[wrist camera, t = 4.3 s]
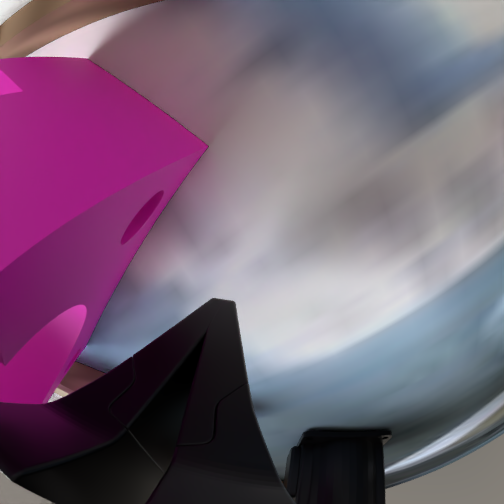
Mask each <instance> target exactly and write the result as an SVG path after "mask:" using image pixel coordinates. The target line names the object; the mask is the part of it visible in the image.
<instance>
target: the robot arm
mask: <svg viewBox="0 0 504 504" xmlns="http://www.w3.org/2000/svg"><path fill="white" fill-rule="evenodd" d="M391 437H392V432H391V431H388V430H387V431H369V432H320V431H307V432H304V433H303V434H302V436H301V438H300V440H299V442H298V444H297V446H294V447H293V448H291V451H290V453H289V455H288V457H287V463H286V471H285V478H284V485H283V483H282V481H281V479H280V477H279V475H278V473H277V471H276V468H275V466H274V464H273V461H272V458H271V456H270V453H269V451H268V448H267V446H266V443H265V440H264V438H263V435H262V433H261V430H260V427H259V424H258V421H257V418H256V415H255V412H254V407H253V403H252V399H251V393H250V388H249V384H248V377H247V371H246V365H245V359H244V353H243V347H242V341H241V335H240V329H239V322H238V316H237V310H236V304H235V302H234V301H231V300H224V299H217V298H212V299H210V300H209V301H208V302H206V303H205V304H203V305H202V306H201V307H199V308H198V309H197V310H195V311H194V312H193V313H191V314H190V315H188V316H187V317H186V318H184V319H183V320H182V321H180V322H179V323H177V324H176V325H175V326H173V327H172V328H170V329H169V330H168V331H166V332H165V333H164V334H162V335H161V336H159V337H158V338H157V339H155V340H154V341H152V342H151V343H150V344H148V345H147V346H145V347H144V348H143V349H141V350H140V351H138V352H137V353H136V354H134V355H133V357H130V358H128V359H127V360H126V361H124V362H123V363H121V364H120V365H118V366H117V367H115V368H114V369H112V370H111V371H109V372H108V373H106V374H104V375H103V376H101V377H99V378H97V379H96V380H94V381H92V382H90V383H89V384H87V385H85V386H83V387H81V388H79V389H77V390H76V391H74V392H72V393H70V394H68V395H66V396H64V397H62V398H60V399H58V400H56V401H53V402H49V403H44V404H24V403H7V402H0V504H385V470H384V453H383V445H384V444H385V443H386V442H387V441H388V440H389V439H390V438H391Z"/></svg>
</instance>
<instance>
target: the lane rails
mask: <svg viewBox="0 0 504 504" xmlns="http://www.w3.org/2000/svg"><path fill="white" fill-rule="evenodd" d="M160 1H164V0H32V1H31V2H29V3H28V4H27V5H25V6H24V7H23V8H21V9H20V10H19V11H18V12H16V13H15V14H14V15H12V16H11V17H10V18H9V19H8V20H6V21H5V22H4V23H3V24H2V25H1V26H0V59H5V58H20V57H26V56H27V55H29V54H30V53H32V52H34V51H36V50H37V49H39V48H41V47H43V46H44V45H46V44H48V43H50V42H52V41H54V40H56V39H58V38H60V37H62V36H64V35H66V34H68V33H70V32H72V31H74V30H77V29H79V28H81V27H83V26H86V25H88V24H91V23H93V22H96V21H98V20H101V19H103V18H106V17H109V16H112V15H115V14H118V13H121V12H124V11H127V10H130V9H133V8H137V7H140V6H144V5H148V4H151V3H155V2H160ZM104 374H106V373H103V372H101V371H98V370H95V369H93V368H90V367H88V366H86V365H83V364H81V363H78V362H76V361H75V362H74V364H73V365H72V366H71V368H70V369H69V371H68V372H67V374H66V375H65V376H64V378H63V379H62V381H61V382H60V384H59V385H58V387H57V388H56V390H55V391H54V392H55V393H57V394H58V395H60V396H62V397H64V396H66V395H68V394H70V393H72V392H74V391H76V390H77V389H79V388H81V387H83V386H85V385H87V384H89V383H90V382H92V381H94V380H96V379H97V378H99V377H101V376H103V375H104Z"/></svg>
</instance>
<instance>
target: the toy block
mask: <svg viewBox="0 0 504 504" xmlns="http://www.w3.org/2000/svg"><path fill="white" fill-rule="evenodd" d="M208 147H209V146H208V145H206V144H205V143H204V142H203V141H201V140H200V139H199V138H197V137H196V136H195V135H194V134H192V133H191V132H190V131H188V130H187V129H186V128H184V127H183V126H182V125H181V124H179V123H178V122H177V121H175V120H174V119H173V118H171V117H170V116H169V115H167V114H166V113H165V112H163V111H162V110H161V109H159V108H158V107H156V106H155V105H154V104H152V103H151V102H150V101H148V100H147V99H145V98H144V97H143V96H141V95H140V94H138V93H137V92H136V91H134V90H133V89H131V88H130V87H129V86H127V85H126V84H124V83H123V82H121V81H120V80H118V79H117V78H115V77H114V76H113V75H111V74H110V73H108V72H107V71H105V70H104V69H102V68H101V67H99V66H98V65H96V64H95V63H93V62H92V61H90V60H88V59H86V58H70V57H20V58H5V59H0V402H7V403H24V404H44V403H47V402H48V400H49V399H50V397H51V396H52V394H53V393H54V391H55V390H56V388H57V387H58V385H59V384H60V382H61V381H62V379H63V378H64V376H65V375H66V374H67V372H68V371H69V369H70V368H71V366H72V365H73V364H74V362H75V361H76V359H77V358H78V356H79V355H80V354H81V352H82V351H83V350H84V348H85V347H86V345H87V343H88V341H89V339H90V337H91V335H92V333H93V331H94V329H95V327H96V325H97V323H98V321H99V319H100V317H101V315H102V313H103V311H104V309H105V307H106V305H107V303H108V301H109V299H110V297H111V296H112V294H113V292H114V290H115V288H116V286H117V285H118V283H119V281H120V279H121V278H122V276H123V274H124V272H125V271H126V269H127V267H128V265H129V264H130V262H131V260H132V259H133V257H134V255H135V254H136V252H137V250H138V249H139V247H140V245H141V244H142V242H143V240H144V239H145V237H146V236H147V234H148V232H149V231H150V229H151V228H152V226H153V225H154V223H155V221H156V220H157V218H158V217H159V215H160V214H161V212H162V211H163V209H164V208H165V206H166V205H167V203H168V202H169V200H170V199H171V197H172V196H173V195H174V193H175V192H176V190H177V189H178V187H179V186H180V185H181V183H182V182H183V180H184V179H185V177H186V176H187V175H188V173H189V172H190V171H191V169H192V168H193V166H194V165H195V164H196V162H197V161H198V160H199V158H200V157H201V156H202V154H203V153H204V152H205V150H206V149H207V148H208Z"/></svg>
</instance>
